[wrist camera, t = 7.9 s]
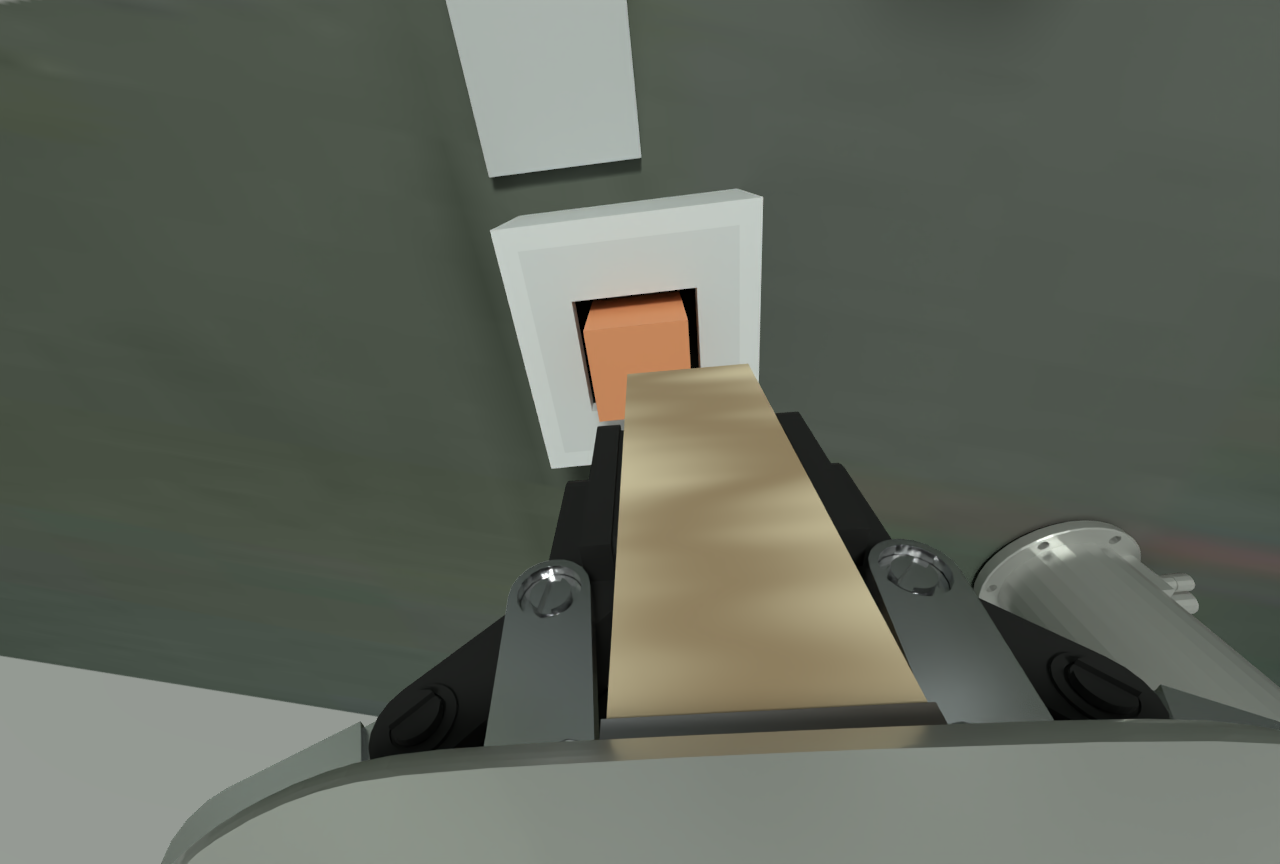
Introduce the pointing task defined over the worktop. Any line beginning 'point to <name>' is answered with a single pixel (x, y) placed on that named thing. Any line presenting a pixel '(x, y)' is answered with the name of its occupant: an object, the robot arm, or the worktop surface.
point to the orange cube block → (633, 344)
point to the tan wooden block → (737, 579)
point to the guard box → (626, 291)
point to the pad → (548, 81)
